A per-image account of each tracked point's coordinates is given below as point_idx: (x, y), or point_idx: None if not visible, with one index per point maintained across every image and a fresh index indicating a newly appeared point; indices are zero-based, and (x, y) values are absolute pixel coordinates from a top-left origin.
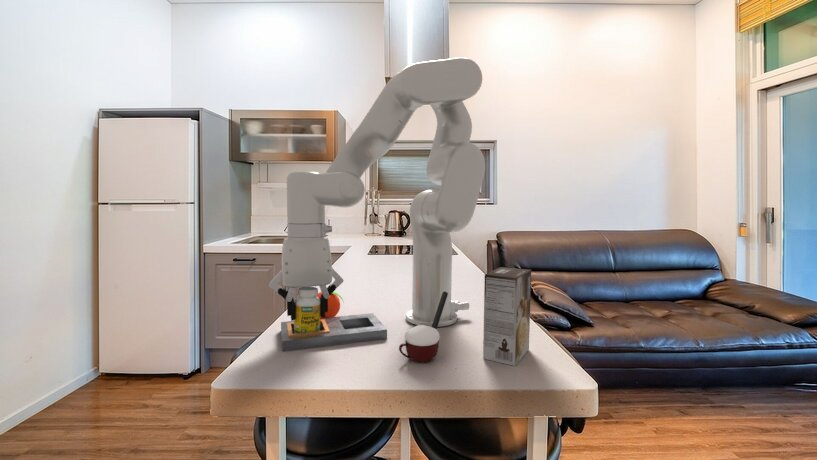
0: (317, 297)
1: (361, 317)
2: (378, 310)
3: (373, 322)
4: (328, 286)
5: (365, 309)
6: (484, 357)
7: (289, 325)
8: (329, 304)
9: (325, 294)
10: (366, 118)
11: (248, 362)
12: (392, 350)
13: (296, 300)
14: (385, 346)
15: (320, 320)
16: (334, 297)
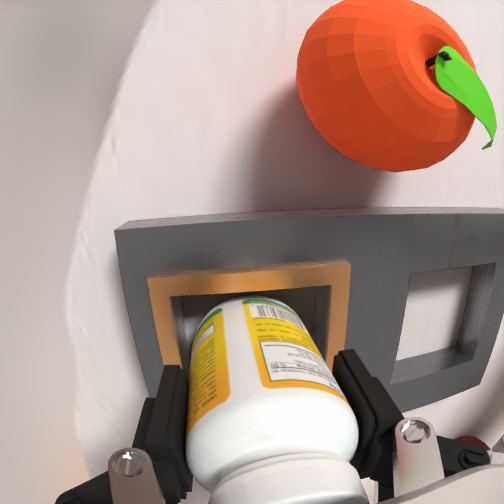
0: (346, 457)
1: (483, 257)
2: None
3: (487, 324)
4: (450, 473)
5: (492, 54)
6: (502, 439)
7: (165, 321)
8: (418, 166)
9: (391, 485)
10: None
11: (101, 443)
12: (435, 428)
13: (199, 483)
14: (437, 411)
15: (327, 279)
16: (468, 131)
